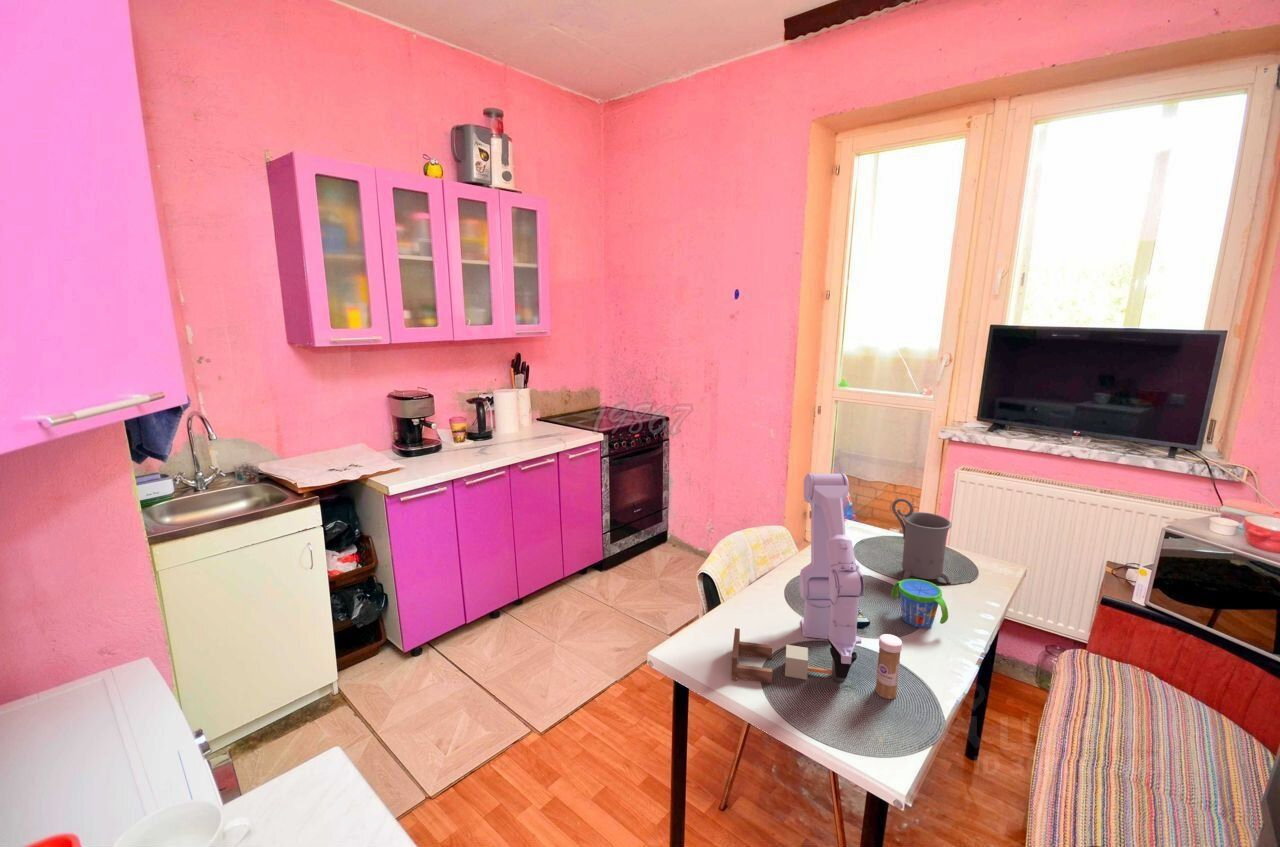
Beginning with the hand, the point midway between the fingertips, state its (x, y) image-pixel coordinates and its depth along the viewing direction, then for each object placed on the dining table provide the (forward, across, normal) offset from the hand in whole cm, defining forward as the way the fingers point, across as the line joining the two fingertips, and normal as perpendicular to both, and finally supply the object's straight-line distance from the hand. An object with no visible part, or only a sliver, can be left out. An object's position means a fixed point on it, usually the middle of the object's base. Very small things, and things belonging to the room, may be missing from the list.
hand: (840, 672), depth 125 cm
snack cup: (+2, +29, -24) cm, 37 cm away
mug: (+2, +57, -30) cm, 65 cm away
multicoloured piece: (+2, 0, +6) cm, 6 cm away
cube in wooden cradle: (+2, 0, +20) cm, 20 cm away
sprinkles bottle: (+2, -3, -10) cm, 10 cm away
